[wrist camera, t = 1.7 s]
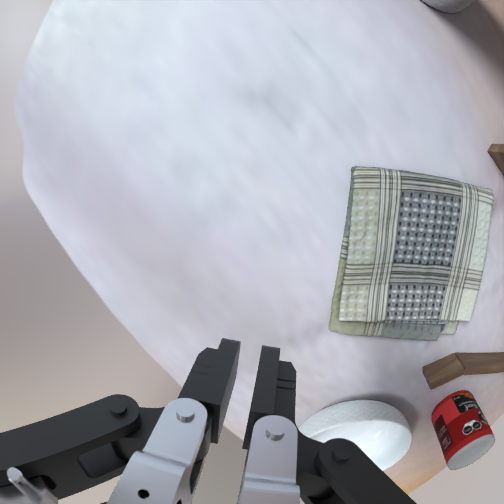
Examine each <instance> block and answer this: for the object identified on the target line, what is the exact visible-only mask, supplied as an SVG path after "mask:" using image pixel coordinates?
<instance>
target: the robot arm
mask: <svg viewBox="0 0 504 504" xmlns="http://www.w3.org/2000/svg"><path fill="white" fill-rule="evenodd" d="M422 1H423V2H425V3H426V4H428V5H429V6H431V7H433V8H435V9H437V10H440V11H443V12H447V13H458V12H460V11H462V10H463V9H464V8H466V7H467V6H468V5H470V4H471V3H472V2H474V1H475V0H422ZM240 343H241V342H240V341H235V340H230V339H225V338H222V340H221V343H220V345H219V348H218V350H217V349H212V348H208V347H207V348H206V349H205V350H203V351H202V352H201V353H199V354H198V357H197V359H196V361H195V363H194V365H193V367H192V369H191V372H190V373H189V375H188V378H187V380H186V382H185V384H184V386H183V388H182V390H181V392H180V395H179V397H178V398H177V399H175V400H173V401H171V402H169V403H168V404H167V405H166V407H163V408H141V407H139V406H138V404H137V402H136V401H135V400H134V399H132V398H131V397H129V396H126V395H120V394H116V395H111V396H108V397H105V398H103V399H100V400H98V401H95V402H93V403H90V404H87V405H85V406H82V407H79V408H76V409H74V410H71V411H68V412H65V413H63V414H60V415H57V416H54V417H51V418H48V419H45V420H42V421H39V422H36V423H33V424H29V425H26V426H23V427H20V428H16V429H13V430H10V431H6V432H3V433H0V504H58V500H59V499H62V498H65V497H68V496H70V495H73V494H76V493H78V492H81V491H83V490H86V489H89V488H91V487H94V486H96V485H98V484H101V483H103V482H105V481H108V480H110V479H112V478H114V477H117V476H119V475H121V474H122V475H121V477H120V479H119V481H118V483H117V485H116V487H115V489H114V491H113V492H112V494H111V496H110V498H109V500H108V502H104V503H101V504H192V500H193V497H194V493H195V490H196V487H197V484H198V481H199V478H200V475H201V472H202V469H203V466H204V462H205V459H206V455H207V453H208V450H209V447H210V443H216V444H217V443H218V440H219V436H220V433H221V429H222V426H223V422H224V419H225V415H226V412H227V408H228V405H229V401H230V397H231V394H232V390H233V387H234V383H235V379H236V374H237V367H238V359H239V351H240ZM279 356H280V348H276V347H270V346H264V345H262V350H261V355H260V361H259V366H258V371H257V377H256V382H255V387H254V393H253V398H252V403H251V408H250V413H249V418H248V423H247V428H246V433H245V438H244V443H243V449H247V450H248V451H247V456H246V461H245V465H244V470H243V475H242V480H241V485H240V491H239V495H238V500H237V504H299V503H300V497H301V499H302V500H303V502H304V503H305V504H416V503H415V502H414V501H413V500H412V499H411V498H410V497H409V496H408V495H407V494H406V493H405V492H404V491H403V490H402V489H401V488H399V487H398V486H397V485H396V484H395V483H394V482H393V481H392V480H391V479H390V478H389V477H388V476H387V475H386V474H385V473H384V472H383V471H382V470H381V469H380V468H379V467H378V466H377V465H376V464H375V463H374V462H373V461H372V460H371V459H370V458H369V457H368V456H367V455H366V454H365V453H364V452H363V451H362V450H361V449H360V448H359V447H358V446H357V445H356V444H355V443H354V442H352V441H350V440H348V439H344V438H334V439H330V440H328V441H326V442H325V443H322V442H319V441H317V440H314V439H311V438H309V437H307V436H305V435H304V434H302V433H301V432H300V431H299V429H298V428H297V426H296V424H295V397H296V391H295V390H296V370H295V368H294V367H293V365H292V363H291V362H286V361H279Z"/></svg>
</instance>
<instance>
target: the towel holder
mask: <svg viewBox="0 0 504 504" xmlns="http://www.w3.org/2000/svg"><path fill="white" fill-rule="evenodd" d="M488 153H489V154H490V155H491V157H492V158H493V160H494V161H495V163H496V164H497V165H498V167H499V168H500V170H501V172H502V173H503V175H504V144H492V145H491V146H490V148H489V150H488ZM500 372H504V352H499V353H455V354H454V353H453V354H451V355H449V356H447V357H445V358H442V359H440V360H438V361H436V362H434V363H431V364H429V365H427V366H424V367H423V374H424V376H425V378H426V380H427V382H428V384H429V387H430V389H434V388H436V387H438V386H440V385H443V384H445V383H447V382H449V381H451V380H453V379H455V378H457V377H459V376H461V375H472V374H488V373H500Z"/></svg>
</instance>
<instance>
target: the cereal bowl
mask: <svg viewBox="0 0 504 504" xmlns="http://www.w3.org/2000/svg"><path fill="white" fill-rule="evenodd" d="M299 431H300V432H301V433H302V434H304V435H305V436H307V437H309V438H311V439H314V440H317V441H319V442H322V443H325V442H326V441H328V440H330V439H334V438H344V439H348V440H350V441H352V442H354V443H355V444H356V445H357V446H358V447H359V448H360V449H361V450H362V451H363V452H364V453H365V454H366V455H367V456H368V457H369V458H370V459H371V460H372V461H373V462H374V463H375V464H376V465H377V466H378V467H379V468H380V469H381V470H382V471H384V470H386V469H388V468H389V467H391V466H392V465H394V464H395V463H397V462H398V461H399V460H400V459H401V458H402V457H403V456H404V455H405V454H406V453H407V451H408V450H409V448H410V446H411V443H412V432H411V429H410V427H409V424H408V422H407V420H406V419H405V417H404V416H403V415H402V413H401V412H400V411H399V410H397V409H396V408H395V407H393V406H391V405H388V404H387V403H383V402H380V401H375V400H354V401H347V402H346V401H345V402H341V403H338V404H335V405H332V406H329V407H327V408H324V409H322V410H321V411H318V412H317V413H315V414H313V415H312V416H311V417H309V418H308V419H307V420H306V421H305V422H304V423H303V424H302V425H301V426H300V427H299Z"/></svg>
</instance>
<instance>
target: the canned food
mask: <svg viewBox="0 0 504 504" xmlns="http://www.w3.org/2000/svg"><path fill="white" fill-rule="evenodd" d="M432 423H433V426H434V429H435V431H436V434H437V437H438V440H439V443H440V445H441V448H442V451H443V454H444V457H445V460H446V463H447V466H448V468H449V469H450V470H457V469H460V468H463V467H466V466H468V465H470V464H471V463H473V462H475V461H477V460H478V459H479V458H481V457H482V456H483V455H484V454H486V453H487V452H488V451H489V449H490V448H491V447H492V446H493V444H494V442H495V438H494V435H493V433H492V430H491V428H490V426H489V424H488V422H487V420H486V419H485V417H484V415H483V413H482V411H481V409H480V407H479V406H478V404H477V402H476V400H475V399H474V397H473V395H472V394H471V393H470V392H468V391H458V392H455V393H453V394H451V395H449V396H448V397H446V398H445V399H444V400H442V401H441V402H440V403H439V404H438V405H437V406H436V408H435V409H434V411H433V413H432Z"/></svg>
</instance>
